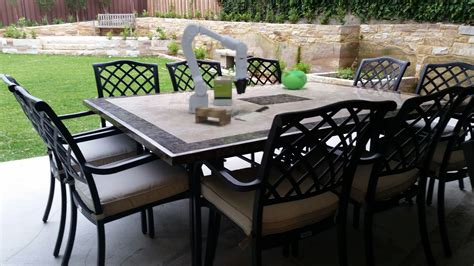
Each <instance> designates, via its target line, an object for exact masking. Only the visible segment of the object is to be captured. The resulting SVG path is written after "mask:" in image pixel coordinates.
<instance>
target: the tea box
mask: <svg viewBox="0 0 474 266" xmlns="http://www.w3.org/2000/svg"><path fill="white" fill-rule="evenodd" d="M232 83H233V81H232V76H229V75H228V76H225V75H224V76H223V75H222V76H214V78H213V100H214V101H213V105H214V106H215V107H220V106H221V107H222V106H223V107H224V106H225V107H227V106H228V107H229V106H231V107H232V106H233V105H232V104H233V103H232V102H233V84H232Z"/></svg>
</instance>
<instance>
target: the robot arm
mask: <svg viewBox="0 0 474 266" xmlns="http://www.w3.org/2000/svg"><path fill="white" fill-rule="evenodd" d="M198 35H200V36H206V37H207V36H208V37H209V38H211V39H214V40H216V41H217V42H220V45H221V46H223V47H224V48H227V49H229V50H231V51H233V52H234V51H235V75H234V76H231V79H232V83H233V84H234V86H235V87H234V88H235V89H236V93H237V95H241V96H242V94H245V93H246V89H247V87H248V83H249V82H250V74H248V58H247V57H248V51H249V48H248V45H247V44H246V43H245V42H244V41H241V39H237V38H234V37H233V36H232V34H224V35H222V34H220V33H218V32H216V31H214V30H212V29H210V28H208V27H206V26H203V25H200V24H197V23H195V22H190V23H188V24H187V25H186V27H185V28H184V30H183V33H182V36H181V41H180V45H181V48H182V51H183V54H184V57H185V59H186V62H187V65H188V66H187V67H188V68H189V71H190V75H191V78H192V80H193V85H194V89H193V90H194V94H191V95H190V96H189V98H188V106H189V107H188V110H189V111H188V113H190V114H195V108H197V107H200V106H201V107H209V93H208V84H207V82H205V80H204V78H203V76H202V73H201V70H200V67H199V65H198V61H197V58H196V55H195V53H194V49H193V46H192V43H193V41H194V39H195V38H196V37H197V36H198Z"/></svg>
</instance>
